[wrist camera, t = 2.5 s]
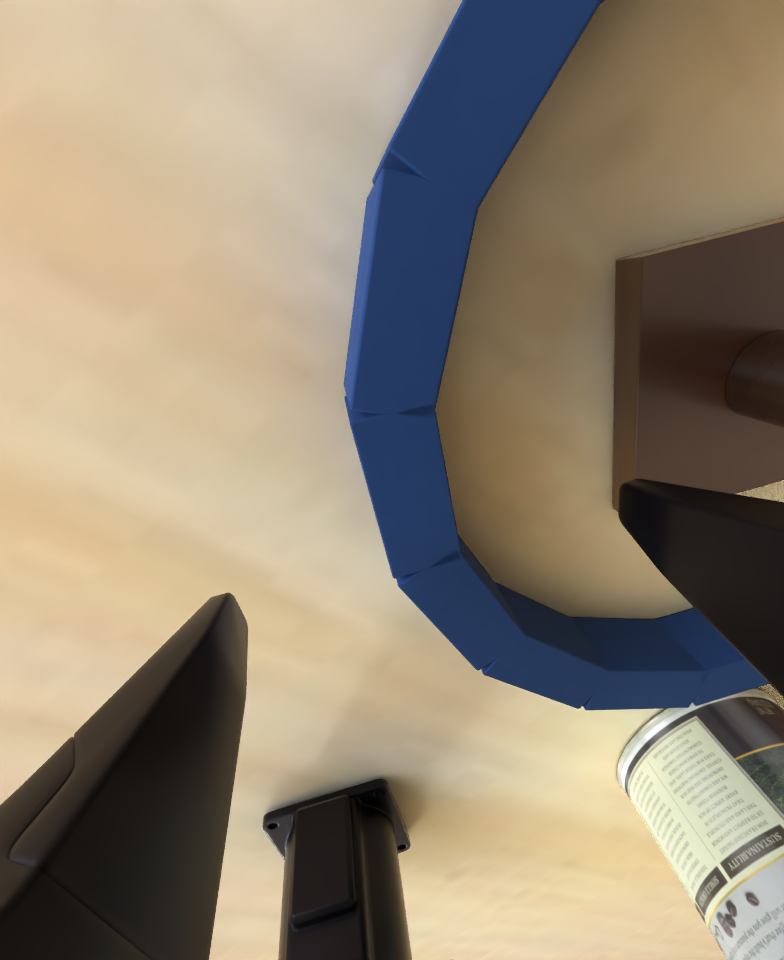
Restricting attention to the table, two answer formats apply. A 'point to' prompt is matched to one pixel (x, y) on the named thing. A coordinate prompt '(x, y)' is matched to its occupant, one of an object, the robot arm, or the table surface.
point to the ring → (419, 368)
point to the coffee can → (718, 813)
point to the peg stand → (701, 362)
